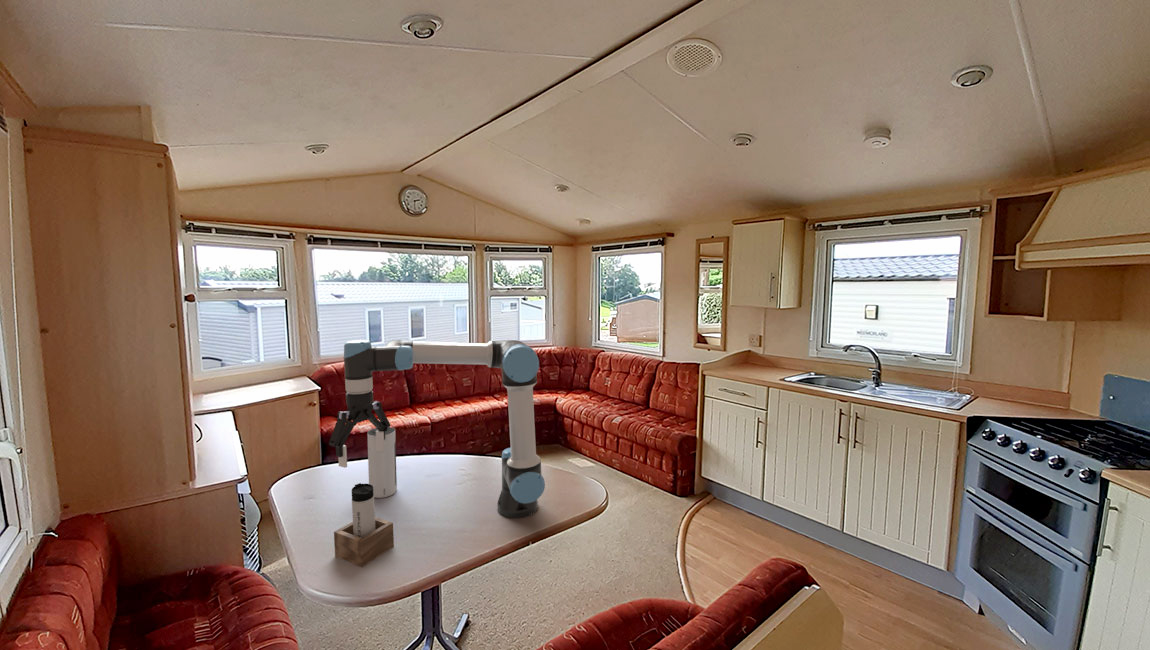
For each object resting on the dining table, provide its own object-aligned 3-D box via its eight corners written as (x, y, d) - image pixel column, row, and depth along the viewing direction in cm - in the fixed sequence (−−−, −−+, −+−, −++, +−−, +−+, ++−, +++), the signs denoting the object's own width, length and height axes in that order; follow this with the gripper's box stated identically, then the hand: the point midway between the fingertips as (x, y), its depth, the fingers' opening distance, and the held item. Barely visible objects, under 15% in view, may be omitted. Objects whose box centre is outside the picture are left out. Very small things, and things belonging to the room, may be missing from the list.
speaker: (397, 496, 180) (395, 432, 177) (368, 500, 176) (365, 435, 173) (396, 485, 190) (395, 424, 187) (369, 489, 186) (367, 427, 183)
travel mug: (369, 539, 148) (366, 480, 146) (379, 546, 144) (377, 486, 142) (350, 547, 143) (347, 487, 141) (360, 556, 139) (357, 493, 137)
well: (393, 546, 146) (393, 522, 145) (362, 567, 135) (361, 541, 135) (367, 536, 151) (366, 514, 151) (335, 556, 141) (333, 531, 140)
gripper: (383, 381, 151) (386, 443, 153) (312, 399, 129) (316, 471, 131) (400, 384, 148) (402, 446, 150) (330, 402, 126) (334, 476, 128)
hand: (362, 458), depth 141 cm, fingers open, 13 cm apart
